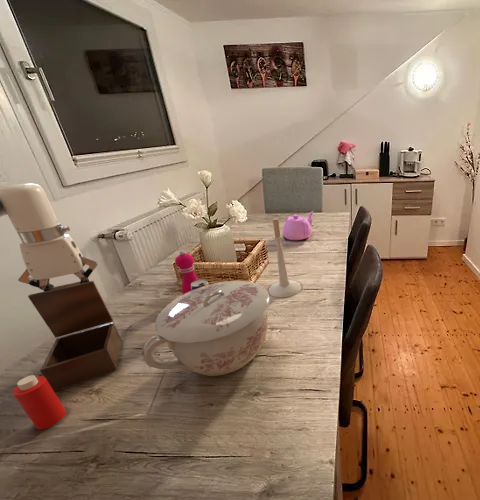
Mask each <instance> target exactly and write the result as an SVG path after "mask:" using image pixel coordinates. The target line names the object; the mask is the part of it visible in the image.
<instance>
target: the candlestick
mask: <svg viewBox="0 0 480 500" xmlns="http://www.w3.org/2000/svg"><path fill="white" fill-rule="evenodd" d="M272 225H273V231H274V235H273V236H272V238H273V239H274V242H275V243H276V246H275V247H276V256H277V270H278V281H277V282H275V283H273V284H272V285H271V286H270V287H269V288H268V294H269V296H272V297H274V298H280V299H281V298H289V297H292V296H294V295H296V294H298V293H299V292H301V290H302V285H301V283H300V282H298V281H296V280H293V279H289V276H288V271H287V266H286V261H285V260H286V259H285V255H284V250H283V245H282V241H283V237H284V235H283V234H281V229H280V221H279V218H278V217H277V218H276V217H274V218H272Z"/></svg>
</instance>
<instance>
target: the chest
mask: <svg viewBox="0 0 480 500" xmlns="http://www.w3.org/2000/svg"><path fill="white" fill-rule="evenodd" d="M120 335H121V334H120V333H119V331H118V329H117V327H116V323H115V322H114V321H113V322H109V323H106V324H102V325H99V326H95V327H92V328H88V329H85V330H81V331H78V332H74V333H71V334H67V335H64V336H60V337H56V338H55V340H54V342H53V345H52V346H51V349H50V350H49V352H48V354H47V356H46V358H45V360H44V362H43V364H42V366H41V367H40V370H39V371H40V373H41V375H42V376H43V377H45V378H46V379H47V381H48V383H49V384H50V386H51V387H52V389H53V391H54V392H57V391H60V390H62V389H65V388H68V387H71V386H73V385H74V386H75V385H77V384H80V383H82V382H85V381H88V380H91V379H94V378H97V377H99V376H102V375H103V376H104V375H105V374H108V373H111V372H114V371H116V370H117V368H118V363H119V358H120V354H121V347H122V337H121V336H120Z"/></svg>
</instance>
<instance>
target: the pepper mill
mask: <svg viewBox="0 0 480 500" xmlns="http://www.w3.org/2000/svg"><path fill="white" fill-rule="evenodd" d="M174 261H175V262H174V263H175V266H176V267H178V270H179V273H181V276H182V281H181V289H180V290H181V293H182V295H184V294H186V293H188V292H190V291H192V289H191V283H192V282H194V281H196V280H200V279H199V278H198V277H197V275H196V273H195V265H194V263H195V259H194V256H193V255H192V254H190V253H186V251H185V250H182V249H181V250H180V251H179V255H177V256H176V257H175V259H174Z"/></svg>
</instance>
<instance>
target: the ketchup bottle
mask: <svg viewBox="0 0 480 500" xmlns="http://www.w3.org/2000/svg"><path fill="white" fill-rule="evenodd" d="M16 385H17V386H16V387H15V388H14V389H13V390H12V395H13V396H14V398H15V399H16V401H17V402H18V403H19V405H20V406H21V408H22V409H23V411H24V412H25V414H26V416H27V417H28V418H29V419H30V421H31V423H33V425H34V426H35V428H36V430H37V429H38V430H46V429H48V428H50V427H52V426H54V425H56V424H57V423H59V422H60V421H61V420H62V419H63V418H65V416H66V414H67V410H66V409H65V407H64V405H63V404H62V402H61V401H60V399H59V397H58V396H57V394H56V393H55V392H56V391H53V389H52V387H51V386H50V384H49V383H48V381H47V379H46V378H45V377H44V376H43V375H40V376H36V375H33V374H31V375H28V376H25V377H23V378H21V379H19V380H18V381H17V383H16Z"/></svg>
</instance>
